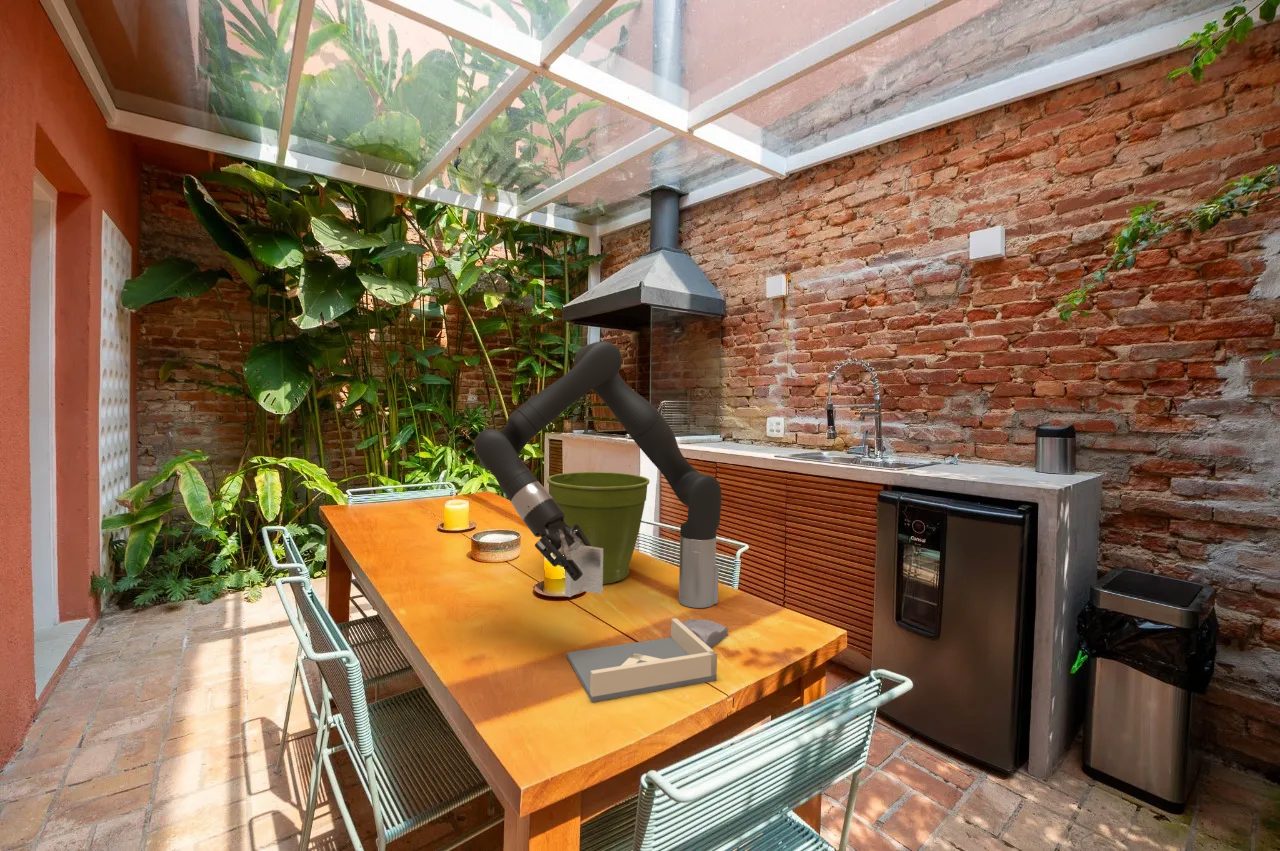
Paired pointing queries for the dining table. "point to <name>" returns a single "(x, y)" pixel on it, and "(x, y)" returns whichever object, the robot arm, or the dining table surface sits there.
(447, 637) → the dining table surface
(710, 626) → the stone block
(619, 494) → the plant pot
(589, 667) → the arena
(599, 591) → the bracket
